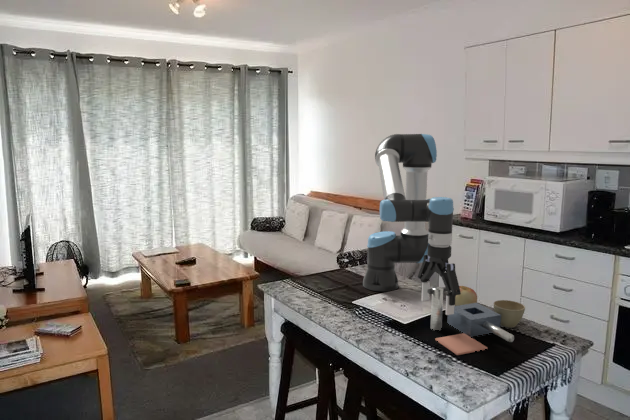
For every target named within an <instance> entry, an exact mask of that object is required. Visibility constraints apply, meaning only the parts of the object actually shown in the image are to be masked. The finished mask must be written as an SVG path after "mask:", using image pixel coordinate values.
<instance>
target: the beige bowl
mask: <svg viewBox="0 0 630 420" xmlns="http://www.w3.org/2000/svg"><path fill="white" fill-rule="evenodd" d="M493 311H494V312H496V313H498V314H500V315H501V325H500V326H502V327H505V328H511V329H512V328H516V326H517V325H518V324H519V323H520V322H521V321H522V318H523V316H524V314H525V311H526V306H525V305H524V304H523V303H521V302H518V301H515V300H507V299H500V300H495V301H494V302H493Z"/></svg>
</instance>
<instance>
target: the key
mask: <svg viewBox="0 0 630 420" xmlns="http://www.w3.org/2000/svg"><path fill="white" fill-rule="evenodd" d="M428 293H429V295H431V304H430V305H431V306H430V309H431V310H430V326H429V327H430V329H431V330H432V329H433V330H432V331H435V330H439V331H441V330H442V329H441V328H442V327H443V304H444V293H448V292H447V290H446V287H445V286H444V287H440V286H433V287H432V288H430V289H428Z"/></svg>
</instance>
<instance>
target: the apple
mask: <svg viewBox="0 0 630 420" xmlns="http://www.w3.org/2000/svg"><path fill="white" fill-rule="evenodd" d="M459 288H460V292H461V294H460V295H456V297H455V305H454V306H458V305H465V304H472V303H478V294H477V292H476V291H475V289H473V288H471V287H468V286H465V285H459Z"/></svg>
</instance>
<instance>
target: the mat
mask: <svg viewBox="0 0 630 420" xmlns="http://www.w3.org/2000/svg"><path fill="white" fill-rule="evenodd" d="M434 339H435V342H437V341H438V342H437V343H438V344H440V345H442V346H443V347H445V348H446V349H448V350H449V351H450V352H452V353H454V355H456V356H461V355H465V354H470V353H475V351H477V352H480V350H482V351H486V350H485V349H487V350H488V346H486V345H484V344H482V343H481V342H480V341H477V340H476V339H475V338H474V337H472V338H471V337H469V336H468V335H466V334H465V333H462V332H461V333H456V334H452V335H447V336H442V337H441V336H440V337H436V338H434Z"/></svg>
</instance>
